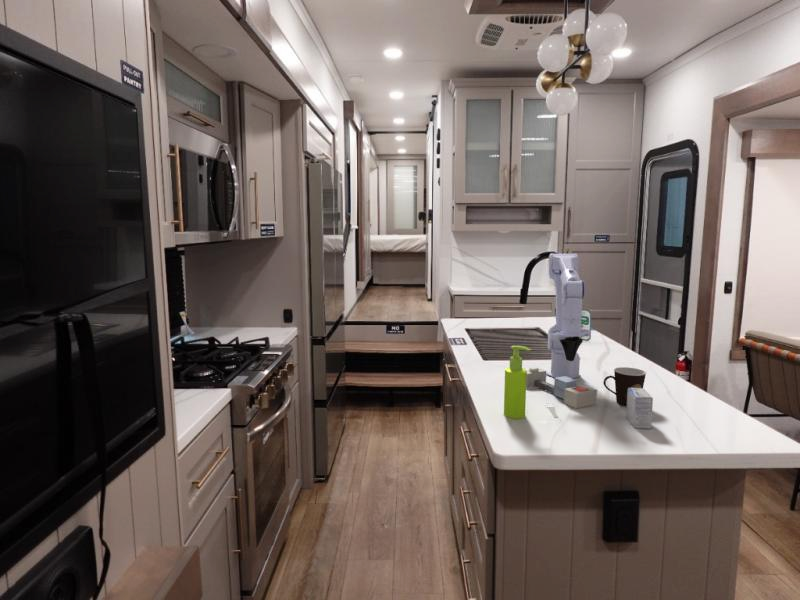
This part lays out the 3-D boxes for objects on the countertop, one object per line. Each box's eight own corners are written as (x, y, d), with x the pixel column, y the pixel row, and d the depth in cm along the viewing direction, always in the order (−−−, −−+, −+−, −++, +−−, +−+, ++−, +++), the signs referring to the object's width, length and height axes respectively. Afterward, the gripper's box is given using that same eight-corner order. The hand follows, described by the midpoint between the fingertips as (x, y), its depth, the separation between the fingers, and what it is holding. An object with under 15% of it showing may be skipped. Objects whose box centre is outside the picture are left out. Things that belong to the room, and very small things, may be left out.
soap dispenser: (524, 420, 137) (527, 349, 134) (500, 416, 140) (502, 346, 137) (531, 414, 142) (533, 345, 139) (508, 409, 145) (509, 342, 142)
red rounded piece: (580, 397, 151) (580, 386, 151) (587, 400, 149) (588, 389, 148) (572, 398, 150) (573, 387, 150) (580, 401, 148) (580, 390, 147)
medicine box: (651, 429, 131) (653, 397, 129) (633, 428, 131) (635, 396, 130) (642, 418, 138) (644, 388, 137) (625, 417, 139) (627, 387, 138)
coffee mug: (641, 400, 152) (643, 368, 151) (645, 410, 144) (647, 376, 143) (600, 396, 156) (602, 365, 155) (602, 405, 148) (604, 373, 147)
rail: (538, 385, 168) (539, 379, 167) (576, 400, 152) (576, 394, 152) (534, 385, 167) (534, 380, 166) (571, 401, 152) (571, 395, 151)
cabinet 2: (583, 399, 154) (584, 385, 153) (596, 404, 149) (597, 389, 148) (563, 403, 150) (564, 388, 150) (576, 408, 146) (576, 393, 145)
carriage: (564, 392, 158) (565, 376, 158) (576, 397, 154) (577, 380, 153) (553, 394, 157) (554, 377, 156) (565, 399, 152) (566, 382, 151)
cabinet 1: (539, 381, 172) (540, 365, 171) (545, 383, 169) (546, 368, 168) (521, 384, 168) (521, 368, 167) (527, 387, 165) (527, 371, 165)
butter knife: (553, 403, 150) (543, 403, 150) (574, 436, 126) (562, 436, 126) (553, 404, 150) (543, 404, 150) (574, 438, 126) (562, 437, 126)
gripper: (563, 322, 151) (561, 366, 153) (598, 318, 157) (596, 360, 159) (547, 318, 157) (545, 360, 159) (581, 315, 163) (579, 355, 165)
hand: (569, 360), depth 159 cm, fingers closed
